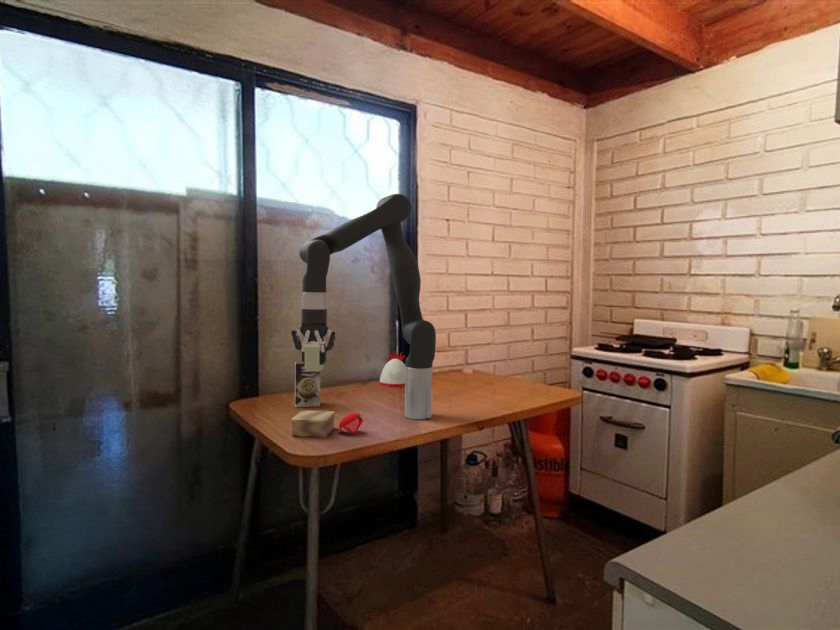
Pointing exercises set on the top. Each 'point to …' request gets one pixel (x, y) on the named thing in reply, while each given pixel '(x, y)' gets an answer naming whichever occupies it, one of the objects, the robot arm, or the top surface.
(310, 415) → the beige flat block
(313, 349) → the tea tin
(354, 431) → the cap
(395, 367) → the kitchen timer
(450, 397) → the top surface
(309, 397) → the coffee box
